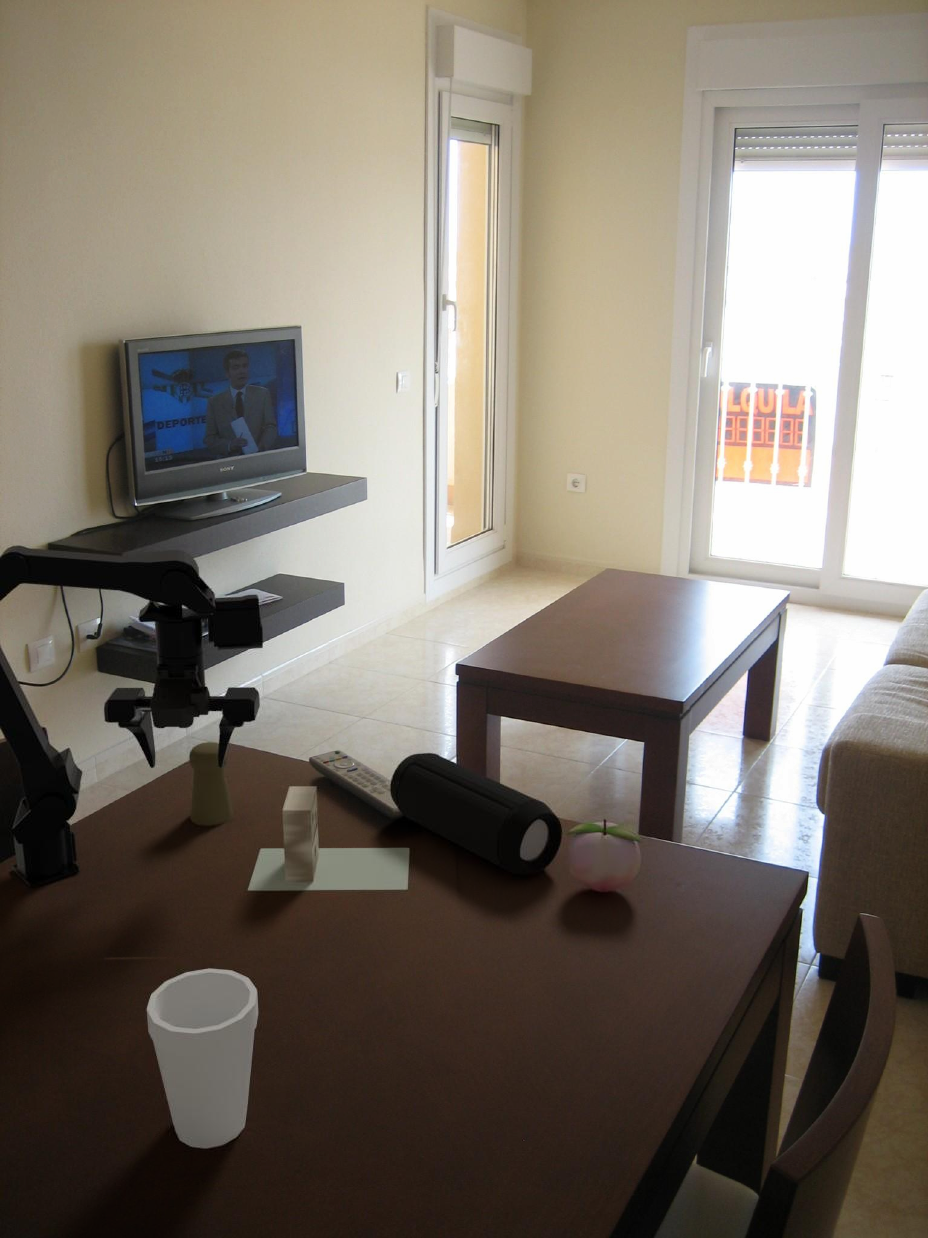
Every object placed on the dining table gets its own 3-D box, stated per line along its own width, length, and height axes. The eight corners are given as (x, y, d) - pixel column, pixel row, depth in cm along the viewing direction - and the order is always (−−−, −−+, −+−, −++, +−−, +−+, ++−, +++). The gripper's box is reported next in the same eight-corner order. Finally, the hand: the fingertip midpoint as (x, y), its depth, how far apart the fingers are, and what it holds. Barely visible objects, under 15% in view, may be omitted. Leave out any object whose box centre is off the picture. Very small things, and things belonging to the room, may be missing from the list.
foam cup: (167, 1090, 108) (158, 970, 105) (266, 1085, 109) (260, 966, 106) (149, 1165, 99) (138, 1036, 96) (257, 1158, 100) (250, 1031, 97)
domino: (285, 882, 146) (282, 810, 143) (292, 855, 152) (289, 786, 150) (313, 882, 146) (310, 810, 143) (318, 855, 152) (316, 786, 150)
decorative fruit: (637, 876, 148) (641, 805, 145) (640, 909, 140) (645, 835, 138) (564, 872, 149) (567, 802, 146) (563, 905, 141) (566, 831, 138)
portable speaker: (565, 866, 151) (568, 797, 148) (512, 892, 144) (513, 820, 141) (438, 803, 169) (437, 740, 166) (385, 823, 162) (384, 758, 160)
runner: (247, 891, 144) (247, 890, 144) (260, 850, 154) (260, 848, 154) (407, 891, 144) (407, 889, 144) (409, 849, 155) (409, 848, 155)
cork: (223, 828, 160) (219, 755, 157) (183, 824, 161) (178, 752, 158) (240, 810, 166) (236, 739, 163) (200, 806, 167) (196, 735, 164)
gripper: (87, 673, 136) (97, 793, 141) (246, 672, 137) (251, 792, 142) (111, 644, 147) (119, 757, 151) (257, 644, 148) (262, 756, 152)
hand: (186, 766), depth 149 cm, fingers open, 8 cm apart
